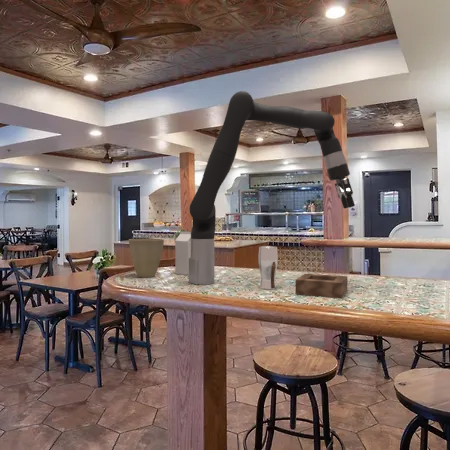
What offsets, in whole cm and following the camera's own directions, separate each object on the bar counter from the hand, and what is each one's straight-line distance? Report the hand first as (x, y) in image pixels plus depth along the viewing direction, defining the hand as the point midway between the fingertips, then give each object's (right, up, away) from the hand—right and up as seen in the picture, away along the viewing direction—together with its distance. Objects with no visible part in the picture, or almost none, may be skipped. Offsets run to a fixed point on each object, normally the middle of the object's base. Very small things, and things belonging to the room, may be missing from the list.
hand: (349, 207), depth 146 cm
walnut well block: (-13, -30, -11) cm, 34 cm away
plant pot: (-80, -29, +23) cm, 88 cm away
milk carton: (-64, -29, +31) cm, 76 cm away
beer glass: (-31, -30, -3) cm, 43 cm away
